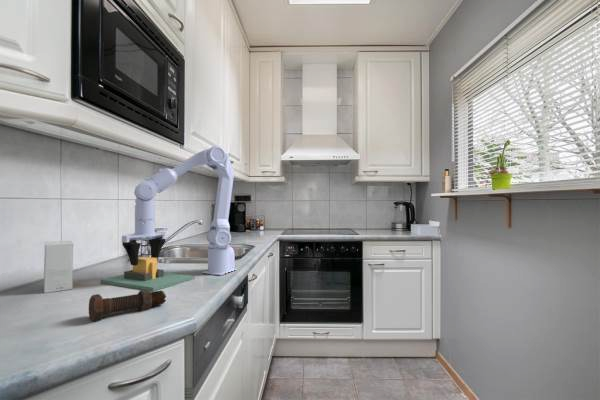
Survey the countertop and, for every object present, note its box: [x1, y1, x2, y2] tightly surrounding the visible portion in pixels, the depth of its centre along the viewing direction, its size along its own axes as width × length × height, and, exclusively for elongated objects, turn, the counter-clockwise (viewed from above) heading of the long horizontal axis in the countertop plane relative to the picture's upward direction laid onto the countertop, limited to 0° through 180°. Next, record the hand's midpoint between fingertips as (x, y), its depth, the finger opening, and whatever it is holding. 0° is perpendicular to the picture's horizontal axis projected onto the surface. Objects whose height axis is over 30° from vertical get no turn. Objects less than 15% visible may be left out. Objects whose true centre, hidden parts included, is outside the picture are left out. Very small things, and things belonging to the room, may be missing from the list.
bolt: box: [88, 289, 167, 323], centre depth 72 cm, size 6×5×15 cm
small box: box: [43, 240, 74, 294], centre depth 91 cm, size 8×6×13 cm
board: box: [100, 268, 195, 292], centre depth 100 cm, size 16×22×3 cm
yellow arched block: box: [132, 256, 158, 279], centre depth 100 cm, size 4×7×6 cm, turn 66°
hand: (144, 262), depth 101 cm, fingers open, 7 cm apart
